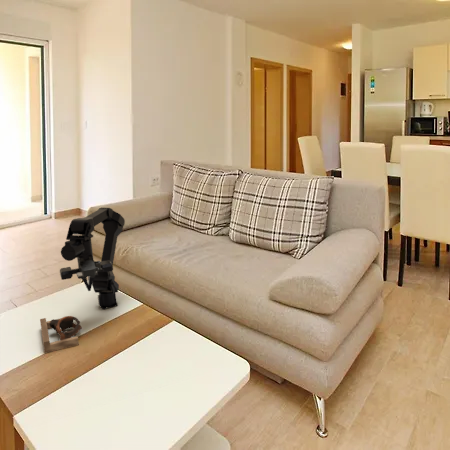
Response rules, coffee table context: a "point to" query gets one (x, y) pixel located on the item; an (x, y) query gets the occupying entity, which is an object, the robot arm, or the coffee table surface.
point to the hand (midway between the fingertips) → (89, 290)
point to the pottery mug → (65, 326)
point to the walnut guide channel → (57, 344)
